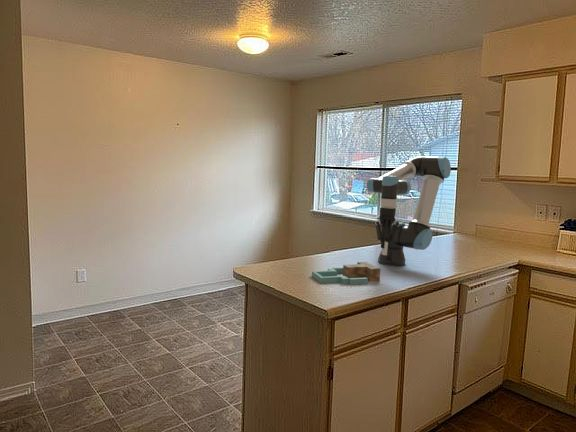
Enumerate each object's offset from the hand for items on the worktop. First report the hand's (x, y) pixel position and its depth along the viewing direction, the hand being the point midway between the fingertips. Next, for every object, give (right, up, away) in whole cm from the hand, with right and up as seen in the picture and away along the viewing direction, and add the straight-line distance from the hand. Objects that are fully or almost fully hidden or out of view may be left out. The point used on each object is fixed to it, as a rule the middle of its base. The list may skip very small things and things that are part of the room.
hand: (384, 254), depth 213 cm
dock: (-24, -11, -6) cm, 27 cm away
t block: (-13, -11, -3) cm, 17 cm away
